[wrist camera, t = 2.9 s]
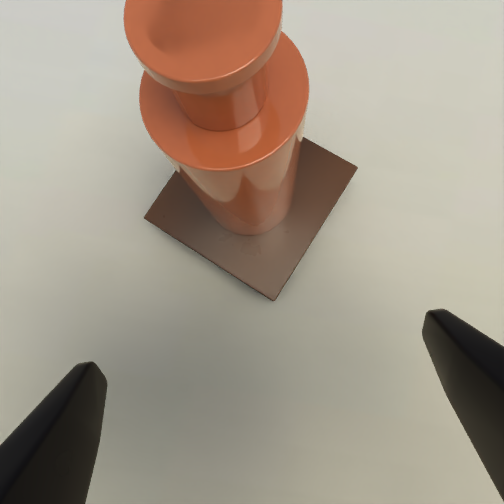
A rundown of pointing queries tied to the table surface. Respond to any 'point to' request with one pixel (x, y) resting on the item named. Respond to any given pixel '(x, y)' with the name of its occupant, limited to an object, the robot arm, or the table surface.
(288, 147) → the vase
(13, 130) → the table surface
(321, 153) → the stand
